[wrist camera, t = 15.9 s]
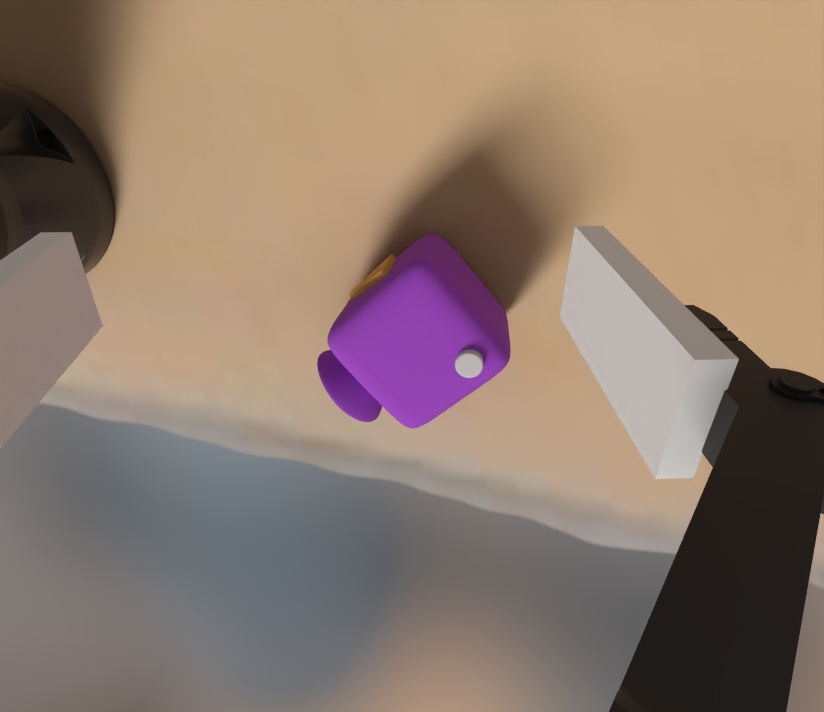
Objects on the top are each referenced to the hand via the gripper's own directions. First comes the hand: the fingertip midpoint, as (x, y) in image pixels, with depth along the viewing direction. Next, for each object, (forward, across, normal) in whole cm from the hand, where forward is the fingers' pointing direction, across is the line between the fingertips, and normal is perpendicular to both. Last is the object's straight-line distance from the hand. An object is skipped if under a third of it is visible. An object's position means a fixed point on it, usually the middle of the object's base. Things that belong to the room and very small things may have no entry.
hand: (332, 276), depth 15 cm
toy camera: (+25, +4, -15) cm, 30 cm away
